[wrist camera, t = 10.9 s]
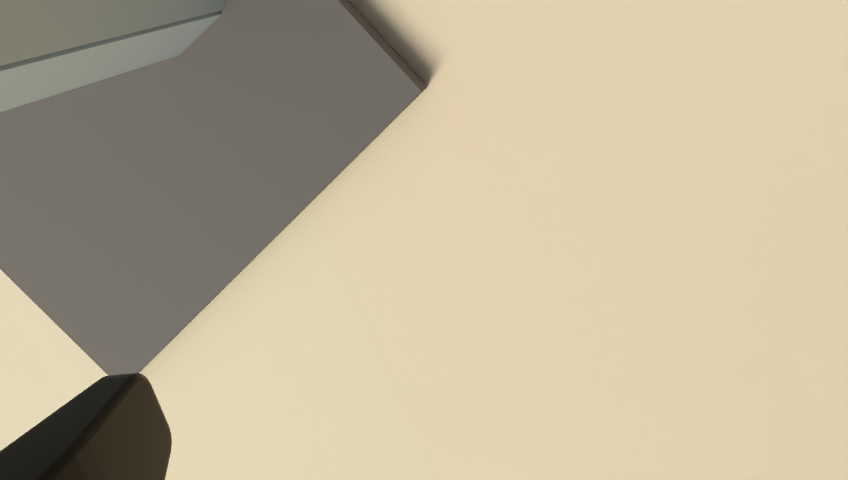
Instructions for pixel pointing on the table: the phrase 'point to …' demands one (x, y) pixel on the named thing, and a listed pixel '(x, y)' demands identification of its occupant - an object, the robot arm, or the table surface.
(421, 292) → the table surface
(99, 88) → the mat
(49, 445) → the robot arm
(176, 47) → the cover
